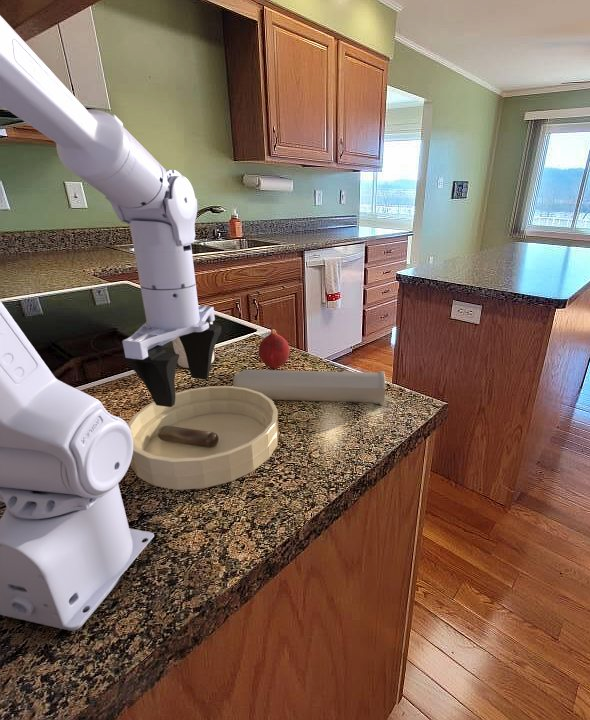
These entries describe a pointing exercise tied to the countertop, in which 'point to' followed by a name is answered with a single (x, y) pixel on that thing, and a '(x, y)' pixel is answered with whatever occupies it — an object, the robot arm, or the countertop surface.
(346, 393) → the tube
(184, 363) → the white cup
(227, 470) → the bowl
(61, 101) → the robot arm
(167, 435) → the stick
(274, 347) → the onion
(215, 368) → the countertop surface
